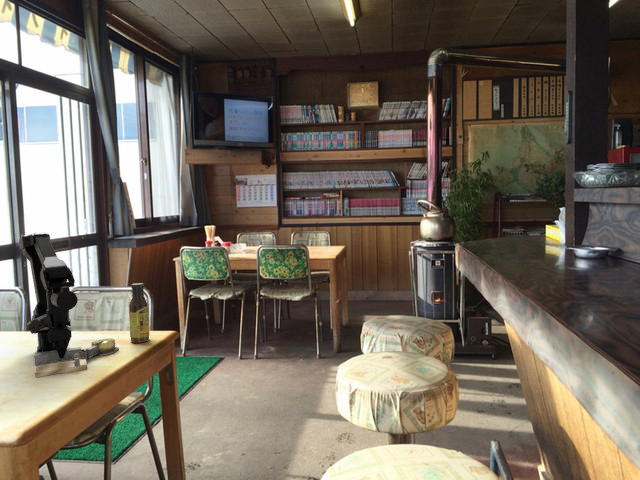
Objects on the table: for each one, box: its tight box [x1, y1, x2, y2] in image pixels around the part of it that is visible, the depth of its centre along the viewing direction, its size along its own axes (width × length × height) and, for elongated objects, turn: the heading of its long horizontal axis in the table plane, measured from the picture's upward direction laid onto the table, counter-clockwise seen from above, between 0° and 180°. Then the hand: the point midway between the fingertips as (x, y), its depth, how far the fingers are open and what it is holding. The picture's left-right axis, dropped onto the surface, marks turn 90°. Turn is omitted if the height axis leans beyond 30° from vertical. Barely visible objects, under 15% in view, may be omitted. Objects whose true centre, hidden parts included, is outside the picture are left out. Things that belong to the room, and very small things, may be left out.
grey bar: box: [33, 346, 82, 365], centre depth 153 cm, size 13×4×3 cm, turn 117°
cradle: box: [34, 354, 88, 378], centre depth 143 cm, size 13×6×3 cm, turn 117°
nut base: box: [92, 346, 120, 357], centre depth 160 cm, size 9×9×1 cm
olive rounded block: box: [79, 338, 116, 360], centre depth 157 cm, size 14×7×3 cm, turn 169°
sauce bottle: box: [128, 282, 150, 344], centre depth 170 cm, size 6×6×20 cm
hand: (61, 355), depth 154 cm, fingers open, 7 cm apart
